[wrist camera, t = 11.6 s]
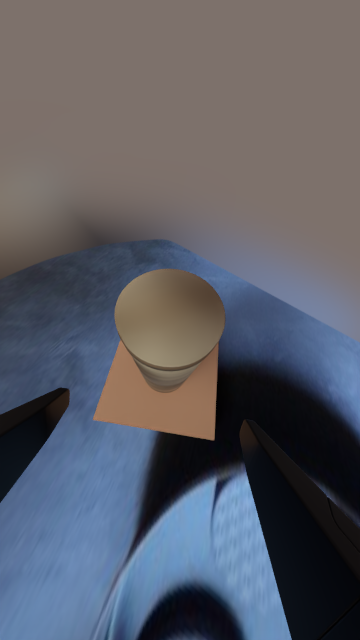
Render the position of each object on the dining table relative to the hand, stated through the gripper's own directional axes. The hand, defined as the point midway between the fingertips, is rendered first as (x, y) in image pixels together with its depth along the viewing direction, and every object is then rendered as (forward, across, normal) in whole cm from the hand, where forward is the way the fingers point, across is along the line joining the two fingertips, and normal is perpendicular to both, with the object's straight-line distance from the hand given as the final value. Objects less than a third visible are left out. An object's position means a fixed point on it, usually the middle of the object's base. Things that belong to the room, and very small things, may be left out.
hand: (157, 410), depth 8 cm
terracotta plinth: (+12, 0, +6) cm, 14 cm away
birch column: (+10, 0, +4) cm, 11 cm away
